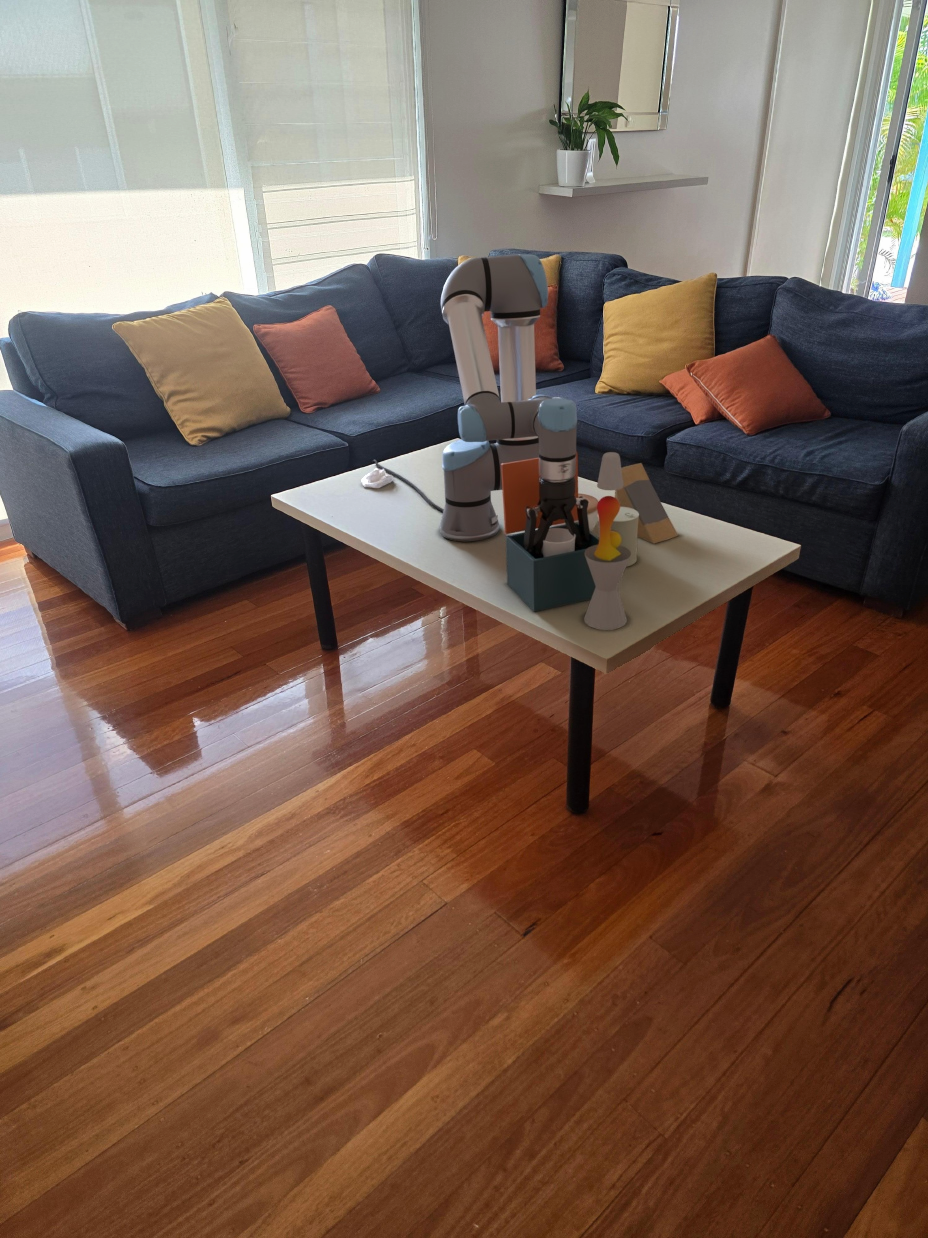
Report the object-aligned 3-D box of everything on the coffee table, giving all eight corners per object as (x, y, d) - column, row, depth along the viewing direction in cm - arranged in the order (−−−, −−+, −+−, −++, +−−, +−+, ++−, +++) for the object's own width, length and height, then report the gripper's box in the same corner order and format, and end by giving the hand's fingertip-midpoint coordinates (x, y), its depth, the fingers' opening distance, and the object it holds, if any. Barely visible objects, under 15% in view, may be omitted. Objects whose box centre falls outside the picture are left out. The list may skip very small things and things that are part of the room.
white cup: (550, 566, 187) (550, 525, 182) (581, 574, 183) (582, 532, 178) (531, 580, 182) (531, 538, 177) (563, 588, 177) (563, 545, 173)
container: (608, 595, 180) (610, 545, 174) (534, 612, 175) (533, 561, 169) (577, 569, 192) (578, 521, 186) (507, 584, 187) (505, 535, 181)
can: (627, 570, 190) (630, 521, 184) (590, 563, 195) (591, 515, 189) (642, 555, 197) (645, 507, 191) (606, 548, 201) (608, 501, 195)
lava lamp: (611, 634, 165) (618, 464, 148) (574, 621, 171) (576, 456, 154) (636, 617, 171) (645, 451, 154) (599, 605, 176) (604, 443, 159)
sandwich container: (653, 544, 202) (657, 485, 195) (612, 525, 214) (614, 468, 207) (679, 535, 206) (684, 477, 199) (638, 517, 218) (641, 461, 210)
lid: (577, 451, 180) (575, 451, 180) (502, 464, 175) (500, 463, 175) (579, 520, 186) (577, 519, 187) (506, 534, 181) (504, 533, 182)
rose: (393, 473, 245) (360, 475, 244) (394, 487, 247) (361, 490, 246) (391, 462, 253) (360, 465, 253) (393, 476, 256) (361, 479, 255)
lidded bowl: (562, 550, 202) (563, 507, 196) (538, 532, 212) (538, 491, 207) (607, 539, 206) (609, 497, 201) (581, 522, 216) (582, 482, 211)
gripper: (518, 490, 165) (520, 592, 176) (610, 474, 171) (606, 574, 182) (504, 479, 171) (506, 578, 182) (593, 463, 177) (590, 560, 188)
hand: (556, 576), depth 182 cm, fingers closed on white cup, 8 cm apart
